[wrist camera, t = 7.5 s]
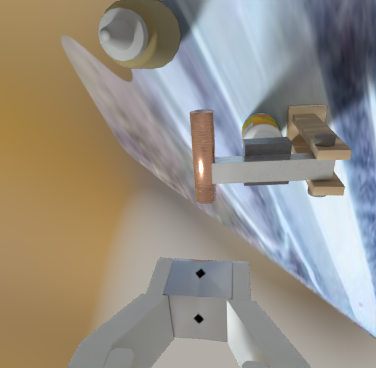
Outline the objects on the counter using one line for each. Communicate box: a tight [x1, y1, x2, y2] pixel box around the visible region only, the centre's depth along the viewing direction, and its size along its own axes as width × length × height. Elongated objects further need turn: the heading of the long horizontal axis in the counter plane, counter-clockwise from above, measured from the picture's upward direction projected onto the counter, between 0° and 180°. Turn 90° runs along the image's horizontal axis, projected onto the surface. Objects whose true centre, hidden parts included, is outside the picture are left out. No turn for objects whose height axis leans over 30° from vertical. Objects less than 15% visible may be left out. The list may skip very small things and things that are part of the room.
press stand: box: [286, 105, 352, 197], centre depth 36 cm, size 7×5×16 cm
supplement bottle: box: [242, 113, 283, 148], centre depth 40 cm, size 5×5×10 cm
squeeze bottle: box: [98, 0, 181, 69], centre depth 33 cm, size 8×8×18 cm
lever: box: [190, 110, 335, 204], centre depth 32 cm, size 10×15×4 cm
